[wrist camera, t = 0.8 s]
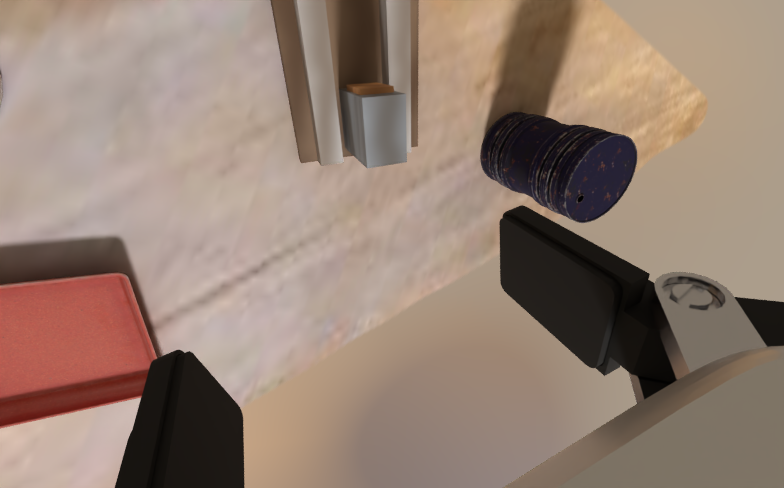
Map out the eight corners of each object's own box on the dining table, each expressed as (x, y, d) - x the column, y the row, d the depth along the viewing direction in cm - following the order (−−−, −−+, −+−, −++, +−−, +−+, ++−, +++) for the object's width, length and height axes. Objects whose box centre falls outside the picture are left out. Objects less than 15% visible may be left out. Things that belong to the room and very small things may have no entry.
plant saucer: (-13, 410, 38) (-32, 438, 35) (-115, 279, 29) (-150, 302, 26) (173, 371, 44) (168, 392, 41) (135, 255, 36) (126, 271, 33)
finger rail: (299, 160, 37) (314, 187, 30) (251, -103, 26) (257, -163, 19) (413, 144, 41) (451, 164, 34) (413, -88, 30) (469, -133, 23)
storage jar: (526, 95, 44) (634, 111, 32) (544, 152, 50) (641, 184, 38) (468, 143, 44) (554, 178, 32) (493, 194, 50) (574, 240, 38)
